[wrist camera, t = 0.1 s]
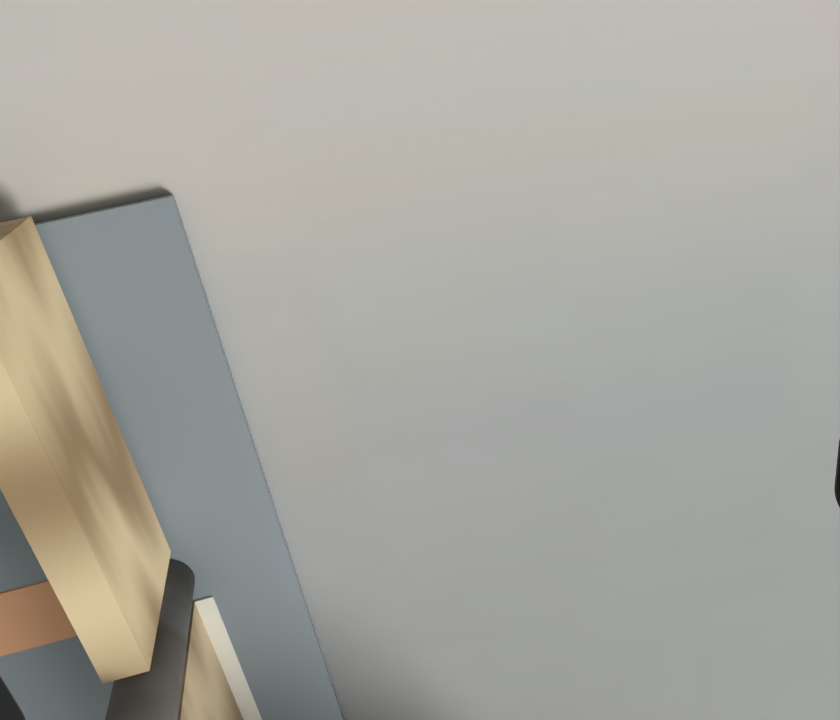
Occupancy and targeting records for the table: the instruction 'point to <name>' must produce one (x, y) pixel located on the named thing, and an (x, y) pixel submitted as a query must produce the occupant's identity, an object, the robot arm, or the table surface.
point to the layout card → (166, 480)
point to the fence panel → (73, 468)
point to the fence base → (177, 665)
